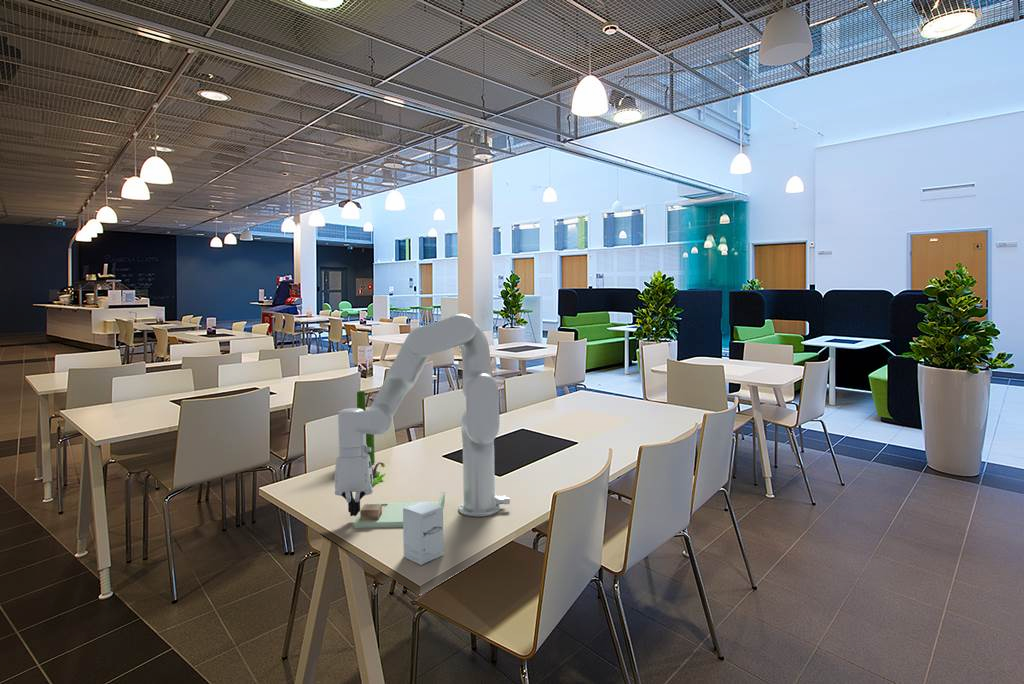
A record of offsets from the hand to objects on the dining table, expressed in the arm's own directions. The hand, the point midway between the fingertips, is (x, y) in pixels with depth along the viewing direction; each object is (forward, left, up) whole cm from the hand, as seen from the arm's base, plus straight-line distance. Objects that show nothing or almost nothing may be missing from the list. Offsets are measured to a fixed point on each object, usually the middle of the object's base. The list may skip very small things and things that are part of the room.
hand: (354, 514), depth 153 cm
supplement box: (-23, +21, -4) cm, 31 cm away
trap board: (-13, -4, -4) cm, 14 cm away
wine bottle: (+10, -51, -4) cm, 52 cm away
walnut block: (-5, 0, -1) cm, 5 cm away
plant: (+3, -33, -4) cm, 33 cm away
